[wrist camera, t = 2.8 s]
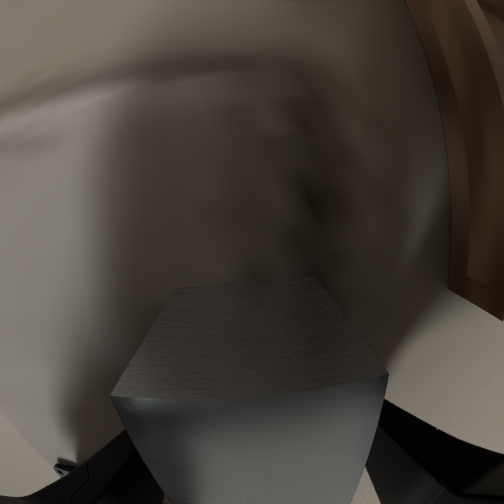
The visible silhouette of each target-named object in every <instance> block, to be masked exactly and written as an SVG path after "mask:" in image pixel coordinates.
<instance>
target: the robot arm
mask: <svg viewBox="0 0 504 504" xmlns="http://www.w3.org/2000/svg"><path fill="white" fill-rule="evenodd" d="M365 467H366V469H367V471H368V474H369V476H370V479H371V481H372V483H373V486H374V488H375V491H376V493H377V495H378V498H379V500H380V503H381V504H504V454H501V453H497V452H494V451H491V450H488V449H485V448H482V447H479V446H476V445H473V444H470V443H468V442H465V441H463V440H460V439H458V438H456V437H454V436H452V435H449V434H447V433H445V432H443V431H442V430H440V429H437V428H436V427H434V426H432V425H430V424H428V423H426V422H425V421H423V420H421V419H419V418H417V417H416V416H414V415H412V414H410V413H408V412H407V411H405V410H403V409H401V408H400V407H398V406H396V405H394V404H393V403H391V402H389V401H387V400H386V399H384V401H383V405H382V409H381V413H380V417H379V421H378V425H377V428H376V432H375V435H374V439H373V442H372V446H371V449H370V452H369V455H368V458H367V461H366V464H365ZM54 470H55V471H56V472H57V473H58V475H59V476H60V477H61V478H60V479H59V480H57V481H55V482H53V483H52V484H50V485H48V486H46V487H44V488H43V489H41V490H39V491H37V492H35V493H33V494H31V495H28V496H24V497H9V496H1V495H0V504H163V499H164V491H163V490H162V489H161V487H160V486H159V484H158V483H157V481H156V480H155V478H154V477H153V475H152V473H151V472H150V470H149V469H148V467H147V465H146V464H145V462H144V461H143V459H142V457H141V456H140V454H139V452H138V450H137V449H136V447H135V445H134V443H133V441H132V440H131V438H130V436H129V434H128V432H127V430H126V429H125V430H124V431H123V432H121V433H120V434H119V435H118V436H116V437H115V438H114V439H113V440H112V441H110V442H109V443H108V444H107V445H105V446H104V447H103V448H102V449H100V450H99V451H98V452H96V453H95V454H94V455H93V456H91V457H90V458H89V459H88V460H87V461H85V462H83V463H82V464H81V465H80V466H78V467H77V468H75V469H74V468H71V467H67V466H64V465H61V464H58V463H56V464H55V466H54Z"/></svg>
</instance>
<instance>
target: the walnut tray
mask: <svg viewBox="0 0 504 504" xmlns="http://www.w3.org/2000/svg"><path fill="white" fill-rule="evenodd" d="M405 1H406V3H407V5H408V8H409V10H410V12H411V15H412V17H413V20H414V22H415V25H416V27H417V30H418V33H419V35H420V38H421V41H422V44H423V47H424V50H425V53H426V56H427V60H428V63H429V66H430V70H431V73H432V77H433V81H434V85H435V89H436V93H437V97H438V102H439V107H440V112H441V117H442V122H443V128H444V134H445V141H446V149H447V157H448V166H449V178H450V193H451V254H450V270H449V282H448V290H450V291H452V292H454V293H456V294H457V295H459V296H461V297H463V298H464V299H466V300H468V301H469V302H471V303H473V304H475V305H476V306H478V307H480V308H481V309H483V310H485V311H486V312H488V313H490V314H491V315H493V316H495V317H496V318H498V319H500V320H501V321H503V320H504V0H405Z"/></svg>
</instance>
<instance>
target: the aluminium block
mask: <svg viewBox="0 0 504 504" xmlns="http://www.w3.org/2000/svg"><path fill="white" fill-rule="evenodd" d="M388 377H389V373H388V371H387V370H386V369H385V367H384V366H383V365H382V363H381V362H380V361H379V359H378V358H377V357H376V355H375V354H374V353H373V351H372V350H371V349H370V347H369V346H368V345H367V343H366V342H365V341H364V339H363V338H362V337H361V335H360V334H359V333H358V331H357V330H356V329H355V327H354V326H353V325H352V323H351V322H350V321H349V320H348V318H347V317H346V316H345V314H344V313H343V312H342V311H341V309H340V308H339V307H338V305H337V304H336V303H335V302H334V300H333V299H332V298H331V296H330V295H329V294H328V293H327V291H326V290H325V289H324V288H323V286H322V285H321V284H320V282H319V281H318V280H317V279H316V277H315V276H306V277H297V278H288V279H278V280H268V281H258V282H248V283H237V284H226V285H214V286H202V287H190V288H177V289H176V291H175V292H174V294H173V295H172V297H171V298H170V300H169V301H168V303H167V304H166V306H165V307H164V309H163V310H162V312H161V314H160V315H159V317H158V318H157V320H156V321H155V323H154V324H153V326H152V328H151V329H150V331H149V332H148V334H147V335H146V337H145V339H144V340H143V342H142V343H141V345H140V347H139V348H138V350H137V351H136V353H135V355H134V356H133V358H132V359H131V361H130V363H129V364H128V366H127V368H126V369H125V371H124V373H123V374H122V376H121V378H120V379H119V381H118V383H117V384H116V386H115V388H114V389H113V391H112V393H111V394H110V397H111V399H112V402H113V404H114V406H115V408H116V410H117V412H118V414H119V416H120V418H121V421H122V422H123V424H124V426H125V428H126V430H127V432H128V434H129V436H130V438H131V440H132V441H133V443H134V445H135V447H136V449H137V450H138V452H139V454H140V456H141V457H142V459H143V461H144V462H145V464H146V465H147V467H148V469H149V470H150V472H151V473H152V475H153V477H154V478H155V480H156V481H157V483H158V484H159V486H160V487H161V489H162V490H163V491H164V493H165V494H166V496H167V497H168V498H169V500H170V501H171V503H172V504H350V503H351V501H352V499H353V496H354V494H355V491H356V489H357V486H358V483H359V481H360V478H361V475H362V473H363V470H364V467H365V464H366V461H367V458H368V455H369V452H370V449H371V446H372V442H373V439H374V435H375V432H376V428H377V425H378V421H379V417H380V413H381V409H382V405H383V401H384V396H385V392H386V387H387V382H388Z"/></svg>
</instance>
